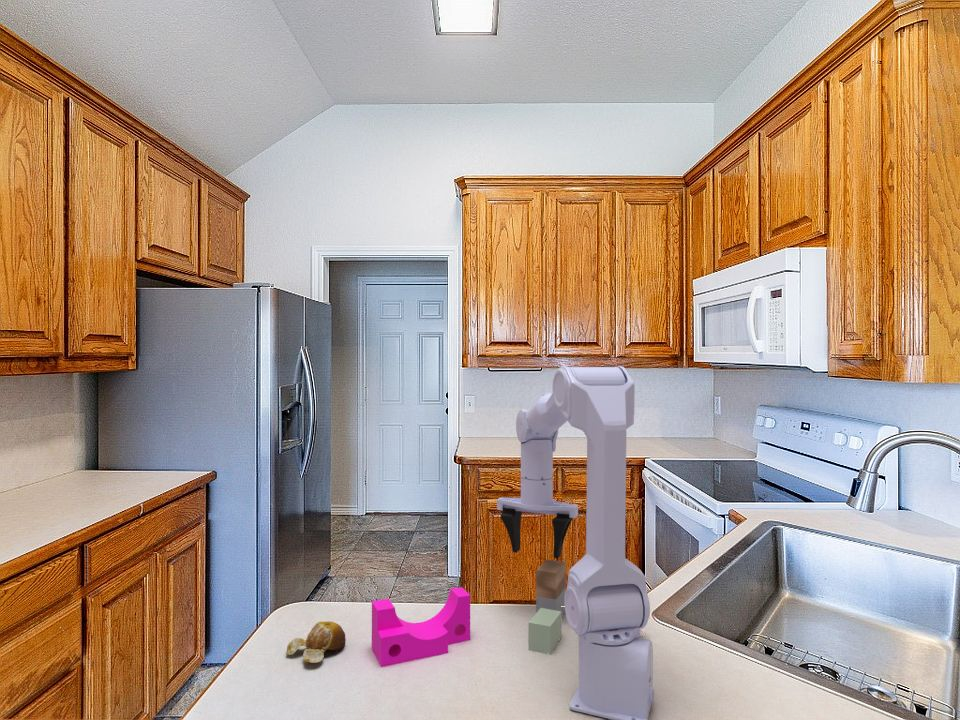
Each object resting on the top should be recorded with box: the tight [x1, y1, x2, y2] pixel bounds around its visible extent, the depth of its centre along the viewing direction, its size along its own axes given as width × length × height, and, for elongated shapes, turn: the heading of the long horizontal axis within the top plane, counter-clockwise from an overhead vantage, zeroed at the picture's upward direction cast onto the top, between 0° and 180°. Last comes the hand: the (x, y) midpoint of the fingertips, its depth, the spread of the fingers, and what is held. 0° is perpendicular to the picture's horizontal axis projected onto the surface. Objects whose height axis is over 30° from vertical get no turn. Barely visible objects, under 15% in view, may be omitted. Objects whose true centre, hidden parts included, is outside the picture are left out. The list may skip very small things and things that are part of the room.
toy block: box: [371, 586, 471, 668], centre depth 91 cm, size 15×6×8 cm, turn 113°
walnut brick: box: [535, 559, 567, 600], centre depth 102 cm, size 4×6×4 cm, turn 156°
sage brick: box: [528, 608, 562, 655], centre depth 92 cm, size 4×6×4 cm, turn 156°
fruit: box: [285, 620, 347, 664], centre depth 90 cm, size 8×8×4 cm
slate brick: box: [535, 587, 567, 618], centre depth 102 cm, size 4×6×4 cm, turn 156°
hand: (536, 553), depth 104 cm, fingers open, 7 cm apart
